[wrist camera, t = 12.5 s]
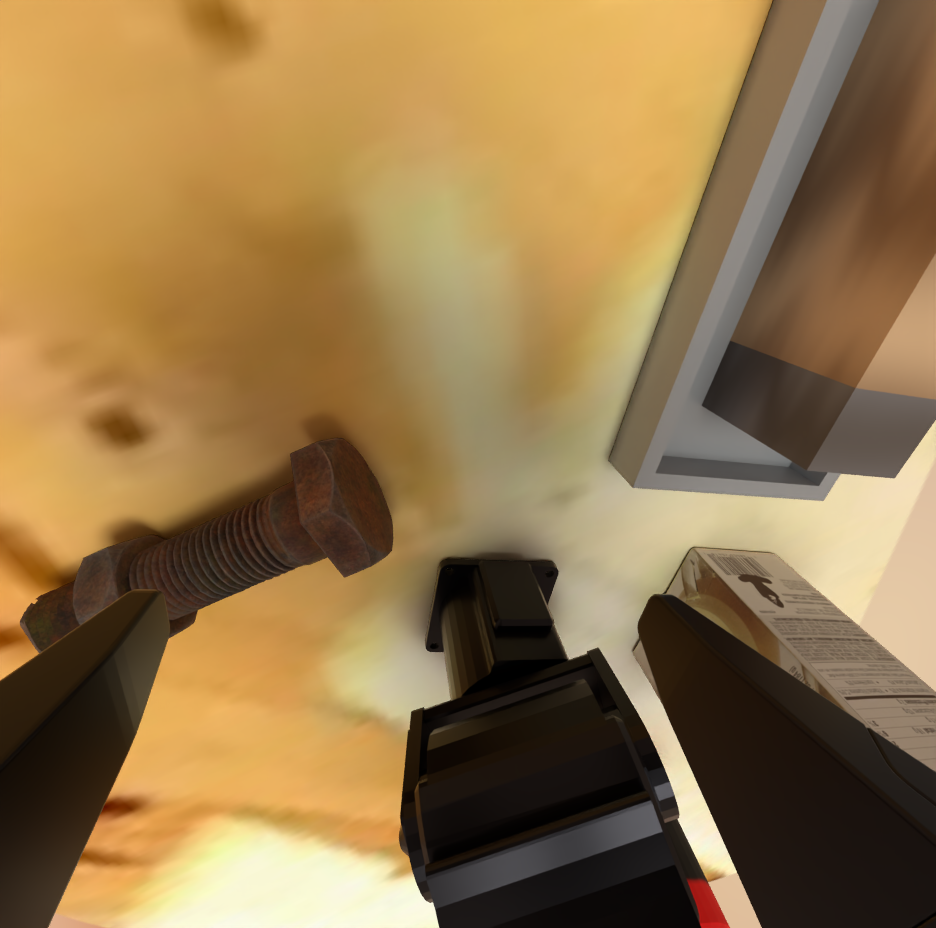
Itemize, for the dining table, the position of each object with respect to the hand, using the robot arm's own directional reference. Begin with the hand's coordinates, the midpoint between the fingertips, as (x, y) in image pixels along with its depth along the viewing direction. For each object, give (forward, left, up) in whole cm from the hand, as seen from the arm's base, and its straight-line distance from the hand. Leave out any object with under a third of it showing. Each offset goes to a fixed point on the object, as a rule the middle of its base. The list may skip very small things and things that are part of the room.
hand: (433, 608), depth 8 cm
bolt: (-8, +8, -12) cm, 17 cm away
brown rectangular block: (+8, -15, -11) cm, 21 cm away
